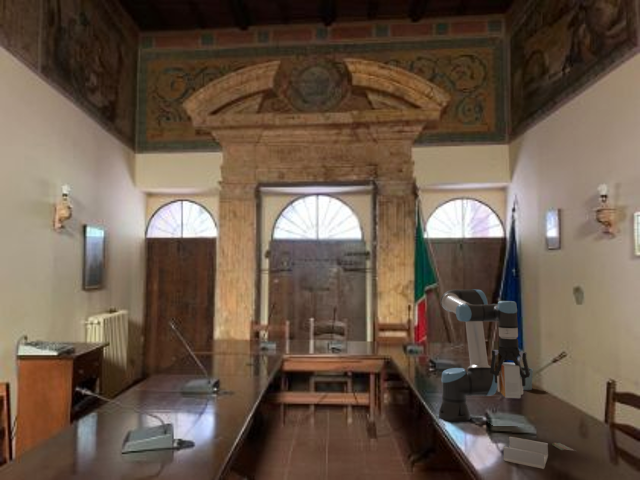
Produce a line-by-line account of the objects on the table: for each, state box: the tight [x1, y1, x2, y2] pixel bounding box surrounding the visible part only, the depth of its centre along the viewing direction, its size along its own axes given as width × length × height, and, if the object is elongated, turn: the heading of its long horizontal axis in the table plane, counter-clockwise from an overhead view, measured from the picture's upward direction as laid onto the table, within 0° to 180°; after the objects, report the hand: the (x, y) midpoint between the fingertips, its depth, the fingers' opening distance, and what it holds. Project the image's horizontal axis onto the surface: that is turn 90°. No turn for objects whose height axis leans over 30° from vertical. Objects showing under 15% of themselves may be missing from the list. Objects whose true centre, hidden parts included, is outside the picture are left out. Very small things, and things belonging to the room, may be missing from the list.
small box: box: [499, 361, 522, 399], centre depth 192 cm, size 8×6×13 cm
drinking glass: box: [520, 366, 534, 391], centre depth 282 cm, size 10×10×12 cm
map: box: [551, 442, 577, 453], centre depth 183 cm, size 5×20×1 cm, turn 23°
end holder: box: [502, 436, 549, 470], centre depth 178 cm, size 14×13×5 cm
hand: (510, 392), depth 192 cm, fingers closed on small box, 8 cm apart
